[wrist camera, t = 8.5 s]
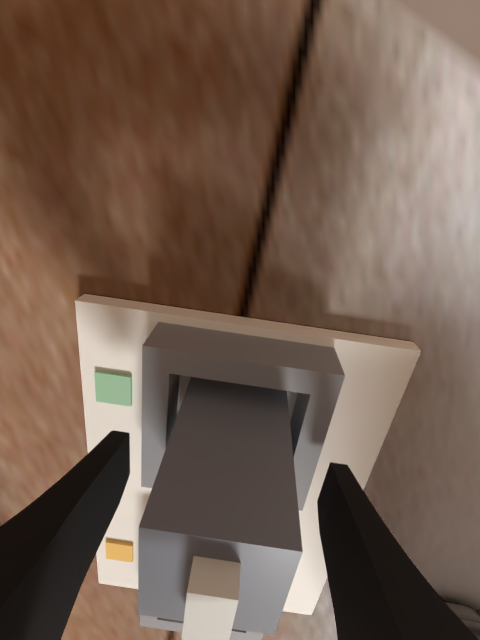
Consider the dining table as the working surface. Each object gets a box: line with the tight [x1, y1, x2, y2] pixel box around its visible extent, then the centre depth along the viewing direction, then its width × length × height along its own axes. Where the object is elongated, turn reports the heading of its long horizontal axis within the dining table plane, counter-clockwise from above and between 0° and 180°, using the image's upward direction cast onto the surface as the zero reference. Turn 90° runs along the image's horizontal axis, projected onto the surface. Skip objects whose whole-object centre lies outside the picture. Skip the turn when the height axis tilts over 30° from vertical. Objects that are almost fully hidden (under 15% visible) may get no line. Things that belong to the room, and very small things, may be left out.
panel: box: [75, 294, 421, 640], centre depth 17 cm, size 14×20×3 cm
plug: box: [138, 377, 303, 640], centre depth 12 cm, size 4×4×8 cm
